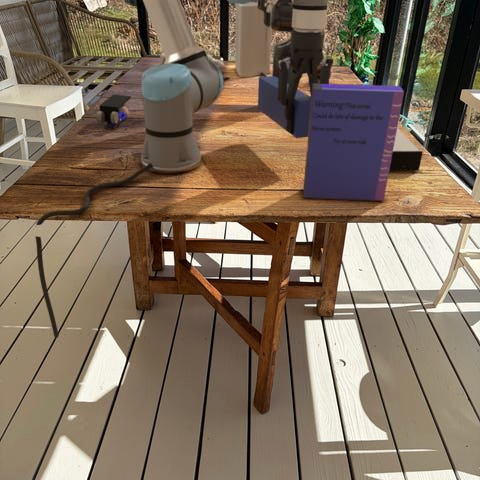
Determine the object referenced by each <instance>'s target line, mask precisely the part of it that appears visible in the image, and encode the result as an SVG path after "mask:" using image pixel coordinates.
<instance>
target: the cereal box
mask: <svg viewBox="0 0 480 480" xmlns="http://www.w3.org/2000/svg"><path fill="white" fill-rule="evenodd" d="M404 94H405V91H404V90H403V88H402V87H401V86H399V85H380V84H379V85H377V84H376V85H375V84H344V83H343V84H341V83H329V84H313V87H312V98H311V109H310V120H309V131H308V137H307V145H306V153H305V154H306V155H305V165H304V177H303V188H302V189H303V190H302V191H303V197H304V199H317V200H343V201H344V200H345V201H346V200H347V201H366V202H367V201H368V202H369V201H370V202H384V201H385V195H386V190H387V184H388V178H389V174H390V171H389V169H390V164H391V158H392V153H393V148H394V142H395V137H396V132H397V128H399V127H398V126H399V120H400V115H401V111H402V104H403V100H404V99H403V98H404Z"/></svg>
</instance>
